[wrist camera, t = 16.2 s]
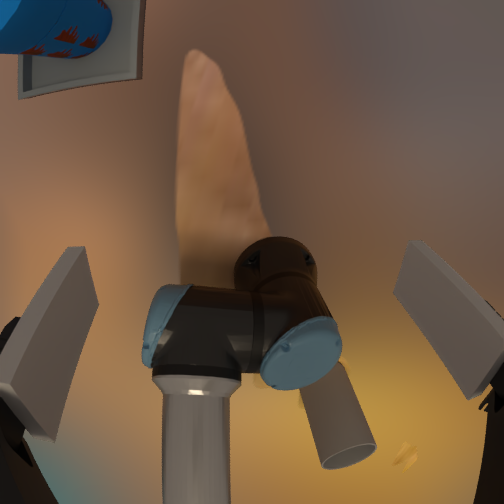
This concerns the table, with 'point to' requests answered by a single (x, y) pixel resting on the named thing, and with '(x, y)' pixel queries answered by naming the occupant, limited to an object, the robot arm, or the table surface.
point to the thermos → (53, 27)
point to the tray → (91, 57)
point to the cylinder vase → (337, 420)
